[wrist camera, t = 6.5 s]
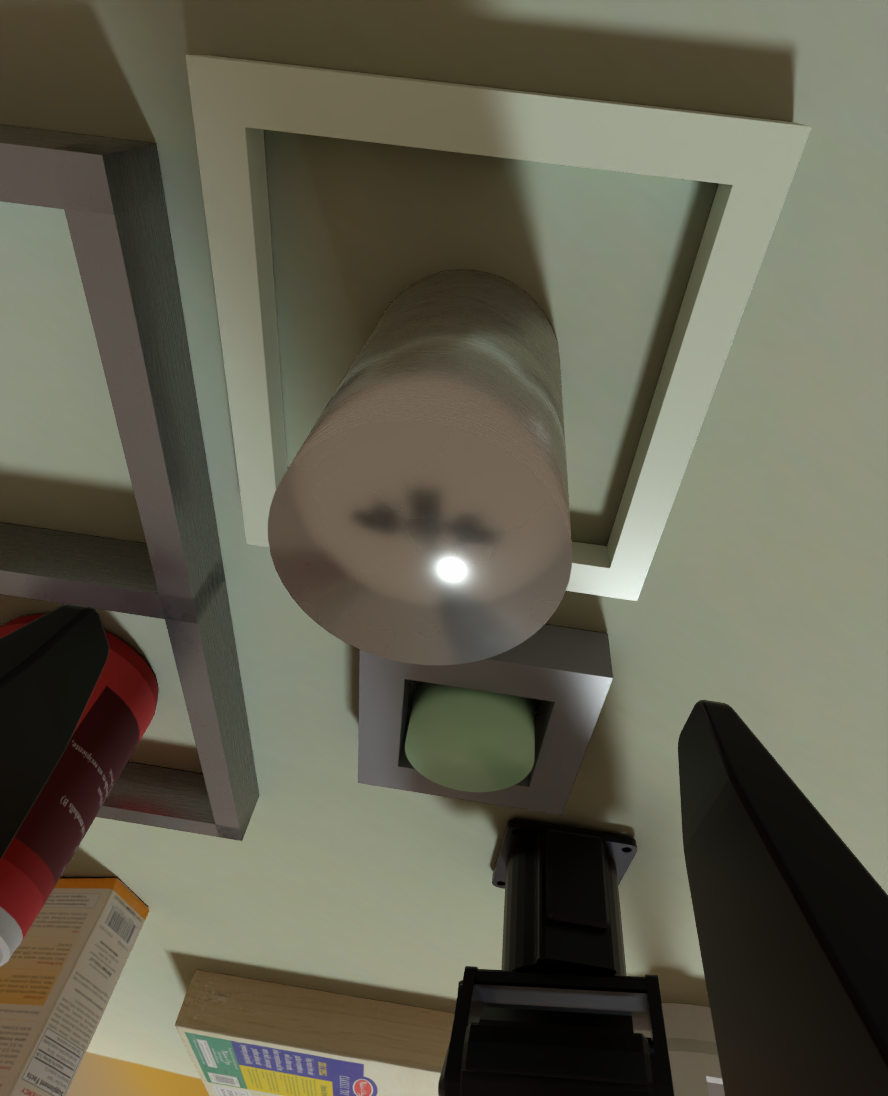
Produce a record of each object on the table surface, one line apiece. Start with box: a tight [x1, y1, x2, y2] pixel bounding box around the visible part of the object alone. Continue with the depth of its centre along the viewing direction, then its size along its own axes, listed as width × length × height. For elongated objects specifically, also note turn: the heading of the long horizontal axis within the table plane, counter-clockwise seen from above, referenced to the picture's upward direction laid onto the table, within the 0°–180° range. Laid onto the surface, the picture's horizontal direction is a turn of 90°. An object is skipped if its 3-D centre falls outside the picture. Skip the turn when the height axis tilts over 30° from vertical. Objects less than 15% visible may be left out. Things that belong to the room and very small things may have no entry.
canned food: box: [0, 614, 159, 966], centre depth 25 cm, size 8×8×11 cm
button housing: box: [358, 624, 613, 815], centre depth 26 cm, size 9×9×2 cm
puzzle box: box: [175, 970, 455, 1096], centre depth 60 cm, size 36×5×24 cm
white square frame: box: [185, 55, 812, 601], centre depth 18 cm, size 13×13×1 cm
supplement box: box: [0, 878, 149, 1096], centre depth 40 cm, size 8×5×13 cm, turn 103°
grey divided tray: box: [0, 125, 259, 841], centre depth 24 cm, size 30×15×2 cm, turn 175°
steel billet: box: [268, 270, 572, 665], centre depth 15 cm, size 6×6×9 cm
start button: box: [405, 682, 535, 792], centre depth 26 cm, size 5×5×2 cm
